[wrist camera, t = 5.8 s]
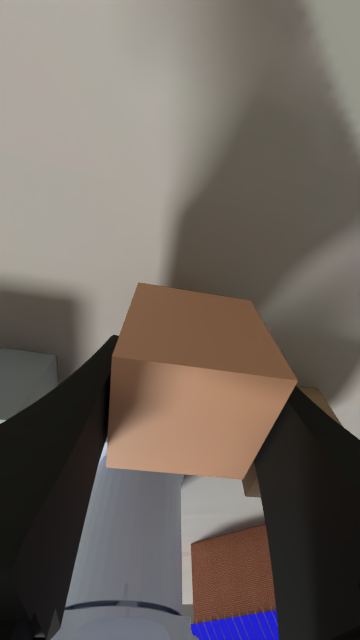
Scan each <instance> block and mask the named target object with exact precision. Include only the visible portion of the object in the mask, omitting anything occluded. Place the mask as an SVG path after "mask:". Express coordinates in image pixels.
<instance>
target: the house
mask: <svg viewBox="0 0 360 640" xmlns="http://www.w3.org/2000/svg"><path fill="white" fill-rule="evenodd" d="M191 557H192V583H193V610H194V624H191V630H192V633H193V635H195V636H196V637H197V638H199V640H279V635H278V623H277V613H276V603H275V594H274V584H273V575H272V567H271V560H270V552H269V545H268V537H267V531H266V524H264V525H260V526H257V527H253V528H249V529H245V530H242V531H238V532H234V533H230V534H227V535H223V536H219V537H215V538H212V539H208V540H204V541H200V542H197V543H193V544H191Z"/></svg>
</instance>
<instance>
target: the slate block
mask: <svg viewBox="0 0 360 640" xmlns="http://www.w3.org/2000/svg"><path fill="white" fill-rule="evenodd" d="M57 386H58V374H57V363H56V355H51V354H44V353H36V352H28V351H20V350H13V349H5V348H0V424H1V423H2V422H4V421H6V420H7V419H9V418H11V417H12V416H14V415H16V414H17V413H19V412H20V411H22V410H23V409H25V408H26V407H28V406H30V405H31V404H33V403H34V402H36V401H37V400H39V399H40V398H42V397H43V396H44V395H46V394H47V393H49V392H50V391H51V390H53V389H54V388H55V387H57Z"/></svg>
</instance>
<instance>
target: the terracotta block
mask: <svg viewBox="0 0 360 640" xmlns="http://www.w3.org/2000/svg"><path fill="white" fill-rule="evenodd" d="M297 382H298V380H297V378H296V376H295V375H294V373H293V371H292V369H291V368H290V366H289V364H288V363H287V361H286V359H285V358H284V356H283V354H282V352H281V351H280V349H279V347H278V346H277V344H276V342H275V341H274V339H273V337H272V335H271V334H270V332H269V330H268V329H267V327H266V325H265V324H264V322H263V320H262V318H261V317H260V315H259V313H258V312H257V310H256V308H255V307H254V305H253V303H252V301H250V300H244V299H238V298H232V297H226V296H220V295H213V294H207V293H201V292H195V291H189V290H182V289H176V288H170V287H164V286H158V285H151V284H145V283H139V282H138V285H137V288H136V291H135V294H134V296H133V299H132V302H131V305H130V307H129V310H128V313H127V316H126V319H125V321H124V324H123V327H122V330H121V332H120V335H119V338H118V341H117V344H116V346H115V349H114V352H113V355H112V364H111V383H110V402H109V421H108V440H107V459H106V467H107V468H118V469H130V470H141V471H152V472H163V473H175V474H186V475H197V476H208V477H220V478H231V479H242V480H243V478H244V477H245V475H246V473H247V471H248V469H249V468H250V466H251V464H252V462H253V460H254V459H255V457H256V455H257V453H258V452H259V450H260V448H261V446H262V444H263V443H264V441H265V439H266V437H267V435H268V434H269V432H270V430H271V428H272V427H273V425H274V423H275V421H276V419H277V418H278V416H279V414H280V412H281V410H282V409H283V407H284V405H285V403H286V402H287V400H288V398H289V396H290V394H291V393H292V391H293V389H294V387H295V385H296V384H297Z"/></svg>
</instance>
